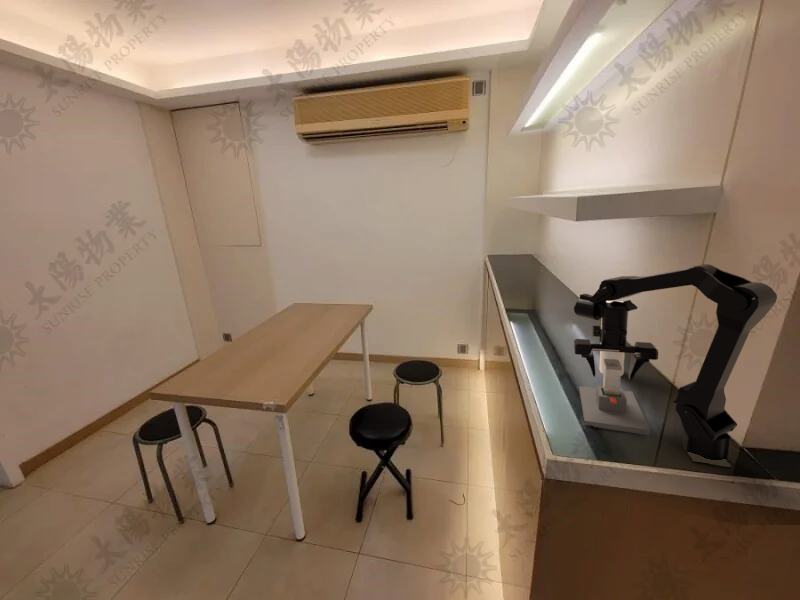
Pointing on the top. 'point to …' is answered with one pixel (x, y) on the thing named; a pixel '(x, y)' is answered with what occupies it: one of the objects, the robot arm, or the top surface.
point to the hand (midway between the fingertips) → (611, 377)
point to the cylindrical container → (611, 355)
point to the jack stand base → (612, 411)
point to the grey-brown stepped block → (611, 377)
